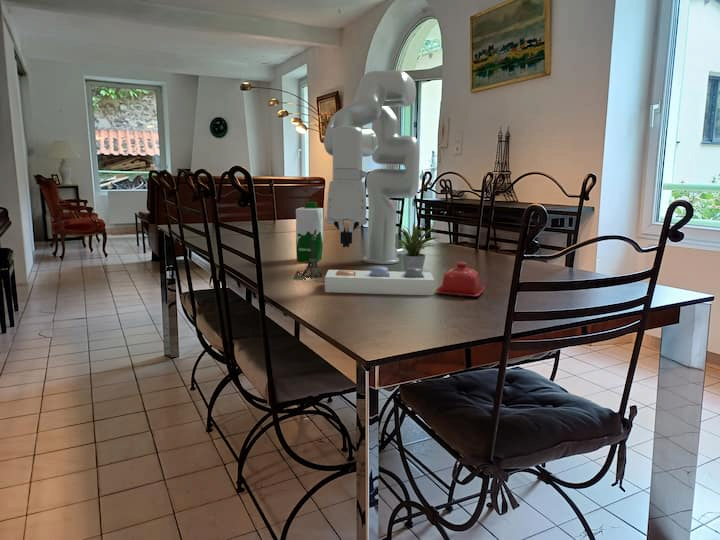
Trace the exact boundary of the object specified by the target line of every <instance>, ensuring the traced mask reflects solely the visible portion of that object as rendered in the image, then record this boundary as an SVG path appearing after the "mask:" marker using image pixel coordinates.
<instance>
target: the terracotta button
mask: <svg viewBox="0 0 720 540" xmlns="http://www.w3.org/2000/svg"><path fill="white" fill-rule="evenodd" d="M338 270H339V271H337V275H338V276H354V271H352V269H351V270H350V269H338Z"/></svg>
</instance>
